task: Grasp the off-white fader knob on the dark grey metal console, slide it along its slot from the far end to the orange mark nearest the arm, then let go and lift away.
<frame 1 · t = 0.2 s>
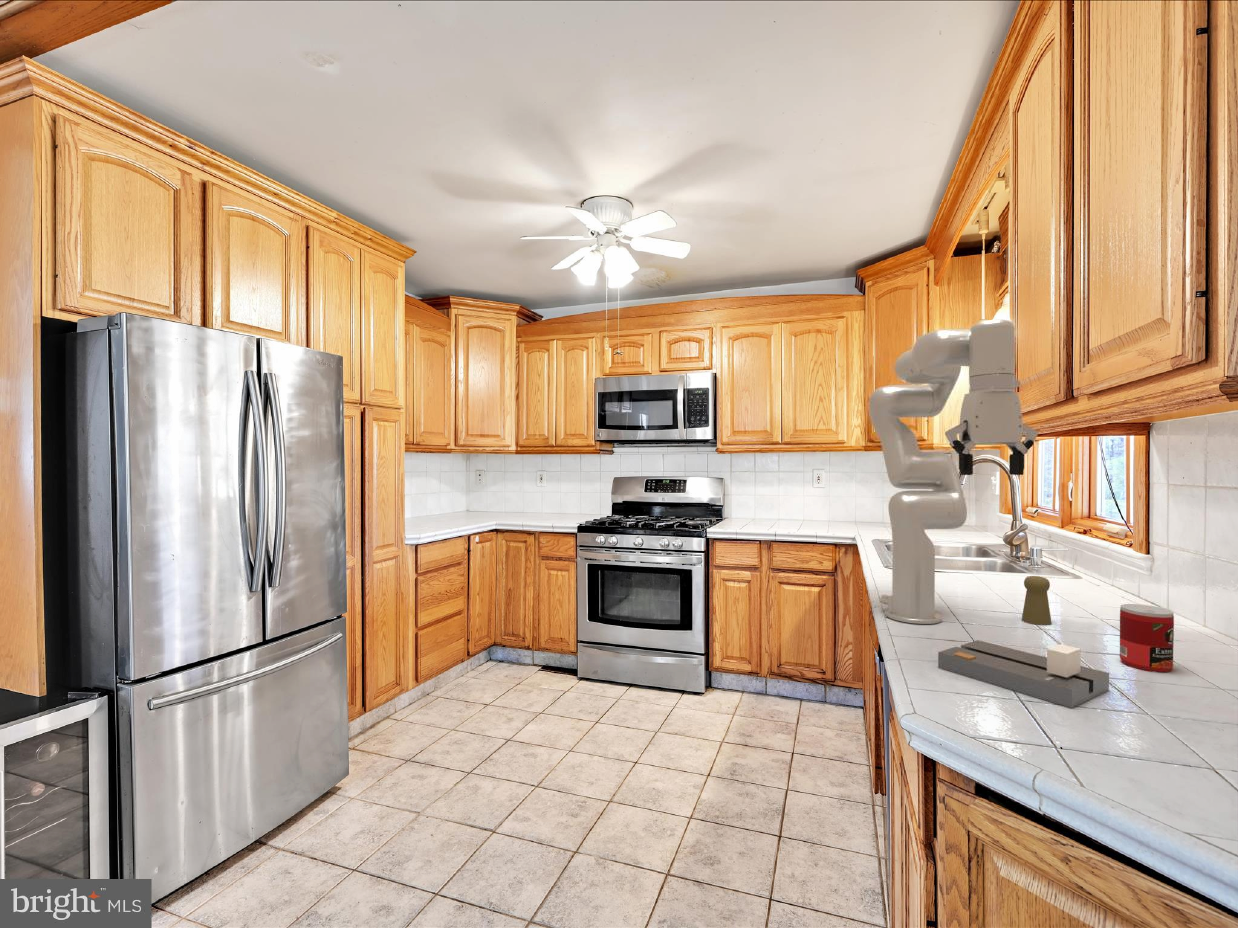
hand: (991, 474, 118), 37 cm above the table, tool pointing down, fingers open, 9 cm apart
fader console: (1019, 678, 111), on the table
cork: (1036, 622, 148), on the table
fader knob: (1063, 666, 105), point 4 cm above the table, slide at 7.0 cm
canned food: (1145, 666, 118), on the table
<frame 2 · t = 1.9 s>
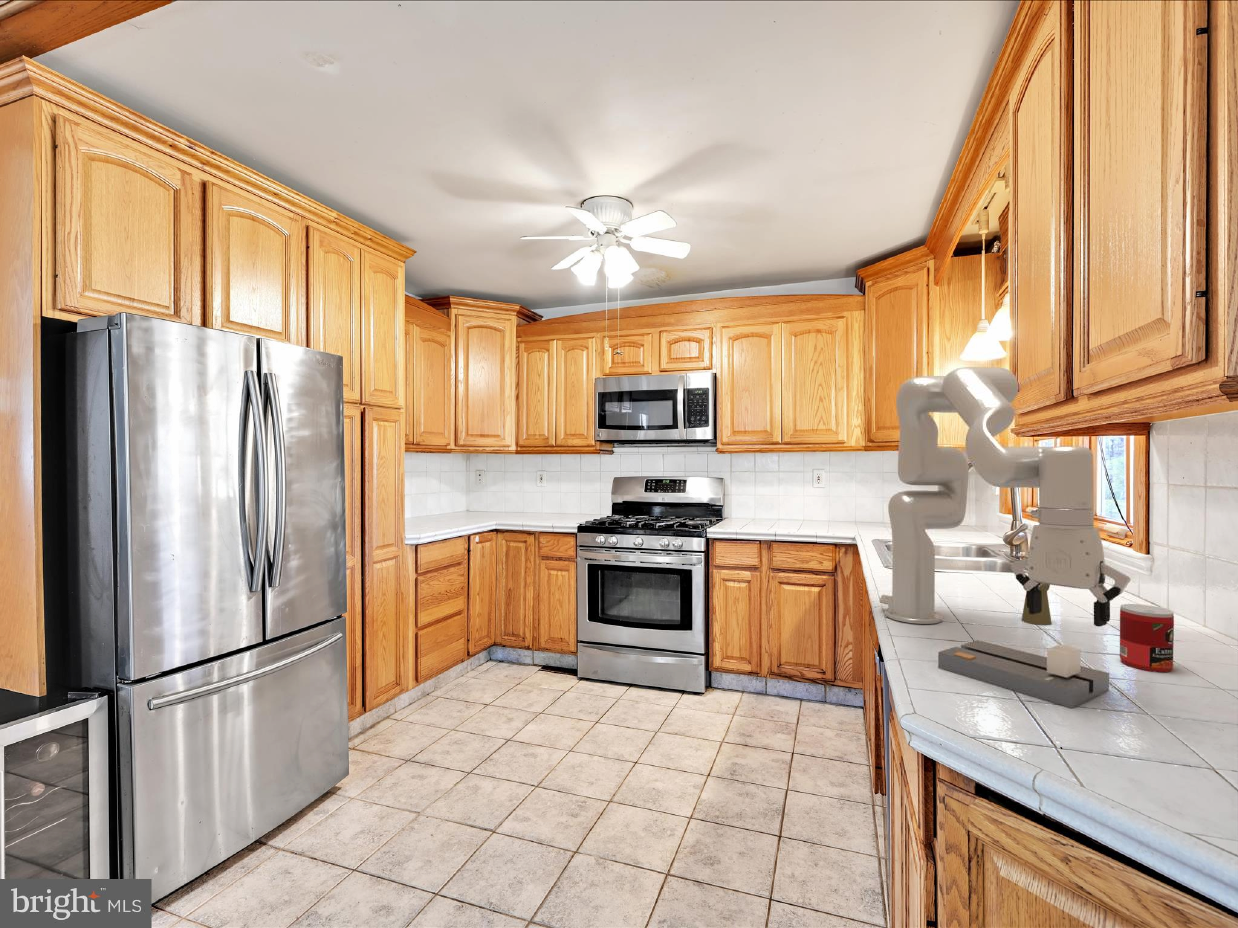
hand: (1066, 618, 104), 13 cm above the table, tool pointing down, fingers open, 9 cm apart
nothing on the table moved.
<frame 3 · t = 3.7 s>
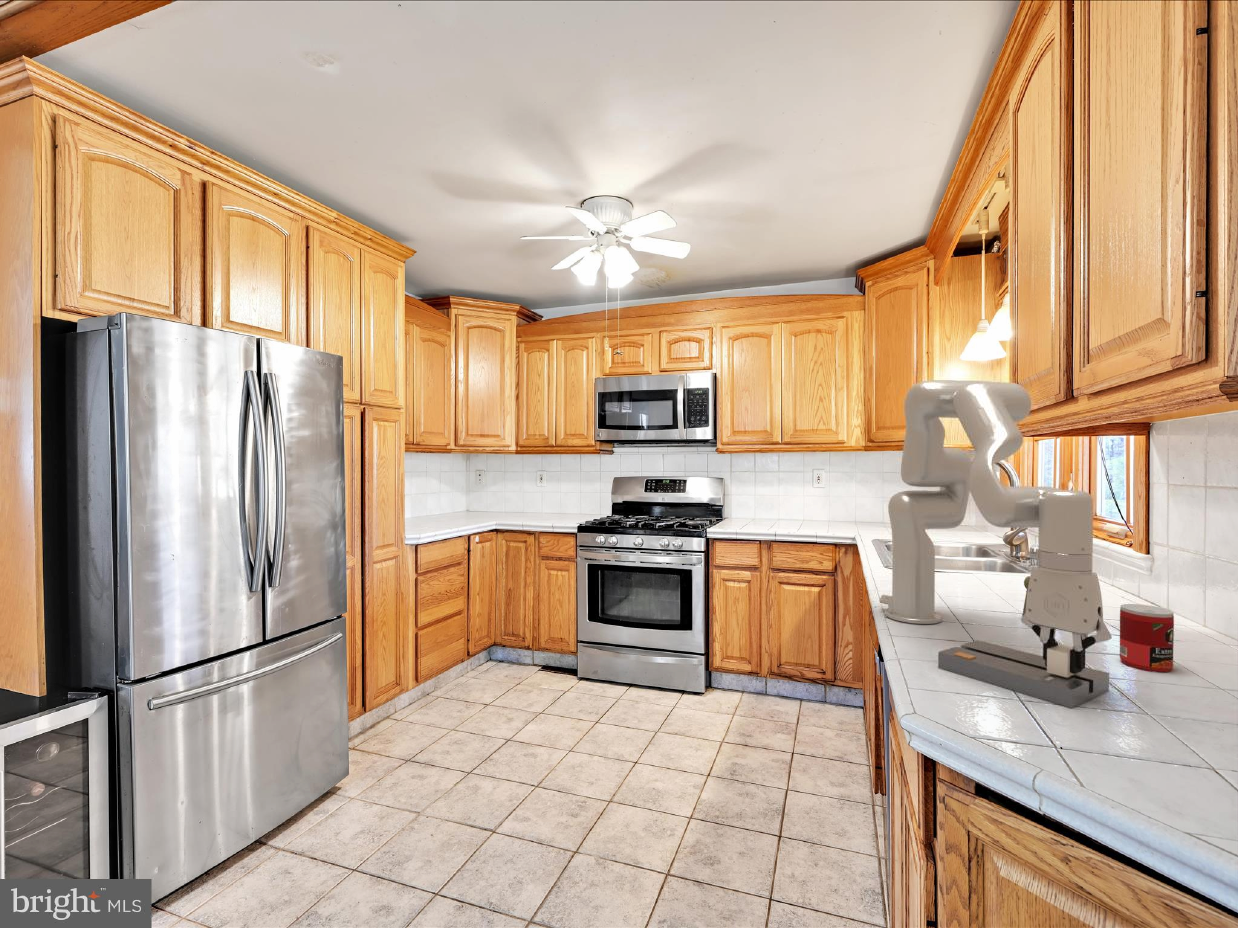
hand: (1063, 667, 105), 4 cm above the table, tool pointing down, fingers closed on fader knob, 3 cm apart
fader knob: (1063, 666, 105), point 4 cm above the table, slide at 7.0 cm, touching gripper
everything else where it was.
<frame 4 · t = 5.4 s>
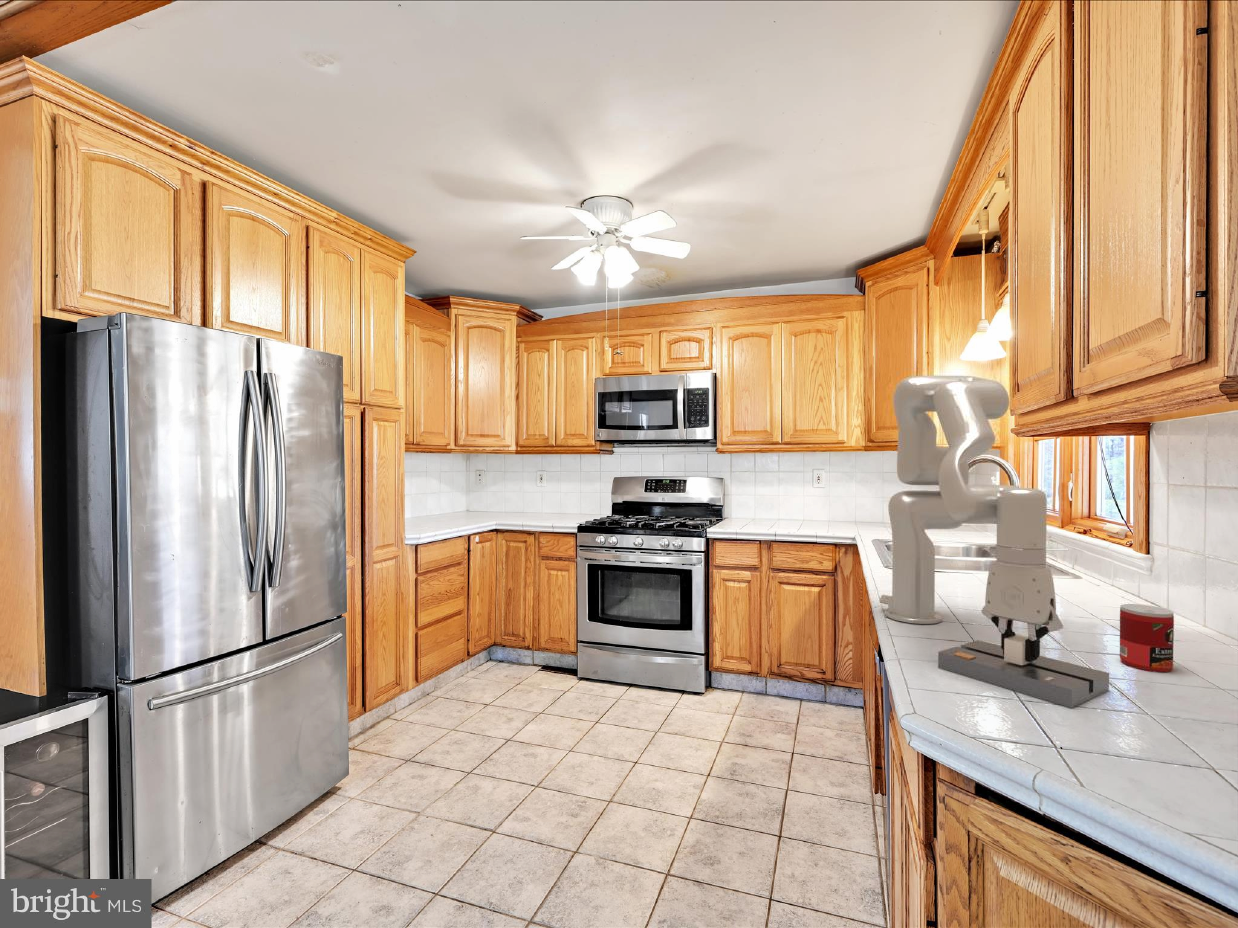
hand: (1020, 656, 111), 4 cm above the table, tool pointing down, fingers closed on fader knob, 3 cm apart
fader knob: (1020, 654, 111), point 4 cm above the table, slide at 0.1 cm, touching gripper
everything else where it was.
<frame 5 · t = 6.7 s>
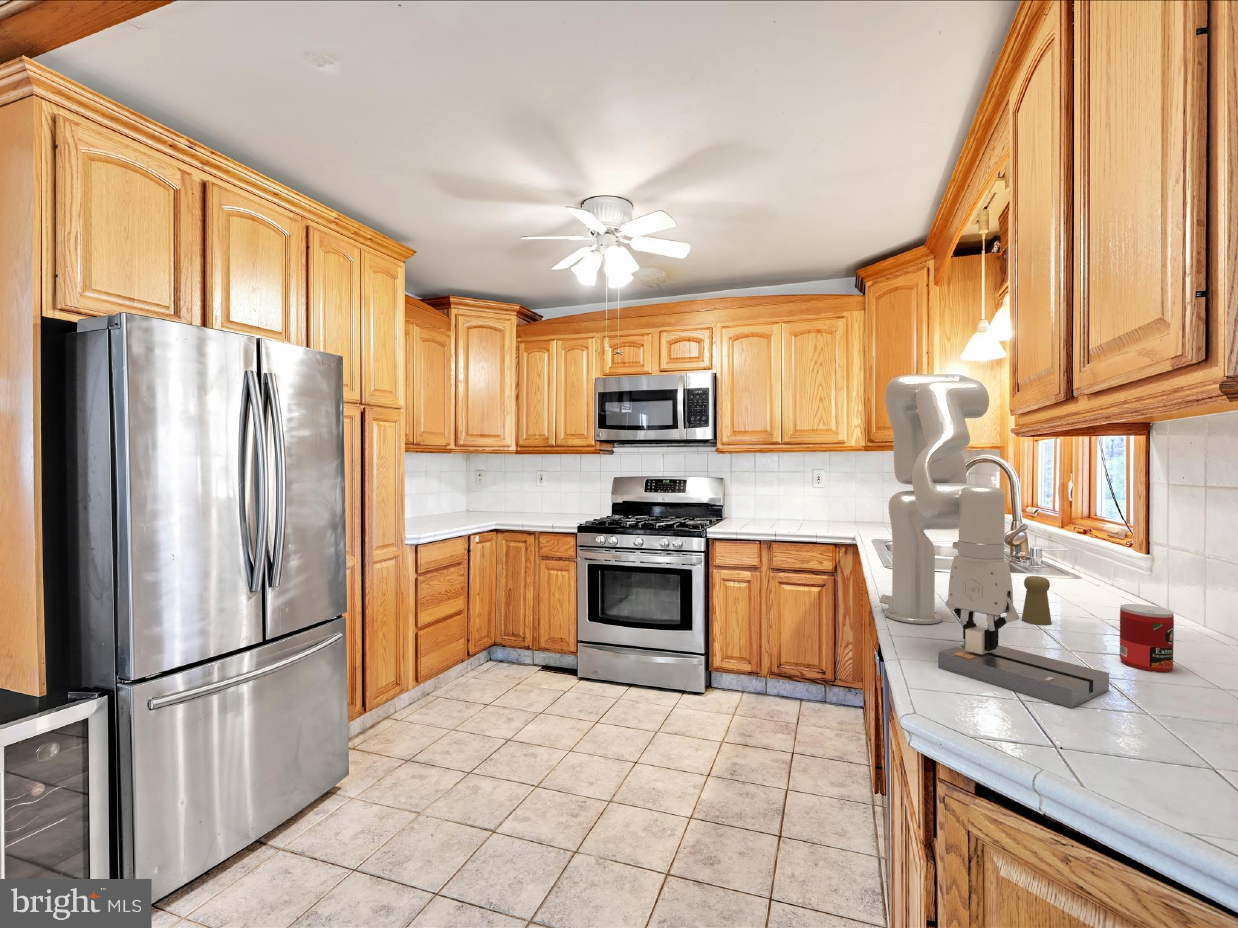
hand: (980, 646, 117), 4 cm above the table, tool pointing down, fingers closed on fader knob, 3 cm apart
fader knob: (980, 644, 117), point 4 cm above the table, slide at -6.9 cm, touching gripper
everything else where it was.
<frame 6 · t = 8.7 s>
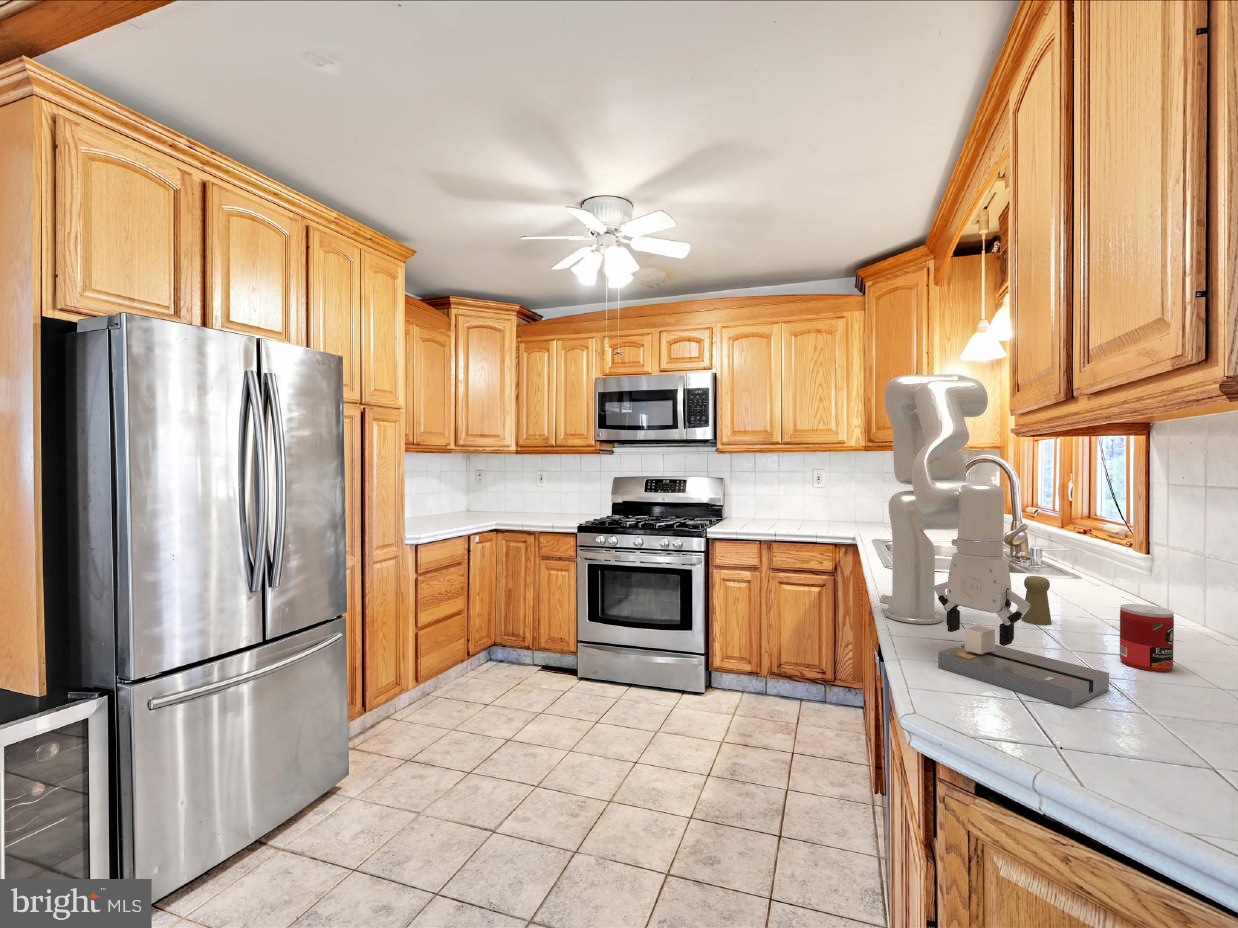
hand: (978, 637, 117), 6 cm above the table, tool pointing down, fingers open, 9 cm apart
fader knob: (979, 644, 117), point 4 cm above the table, slide at -7.0 cm
everything else where it was.
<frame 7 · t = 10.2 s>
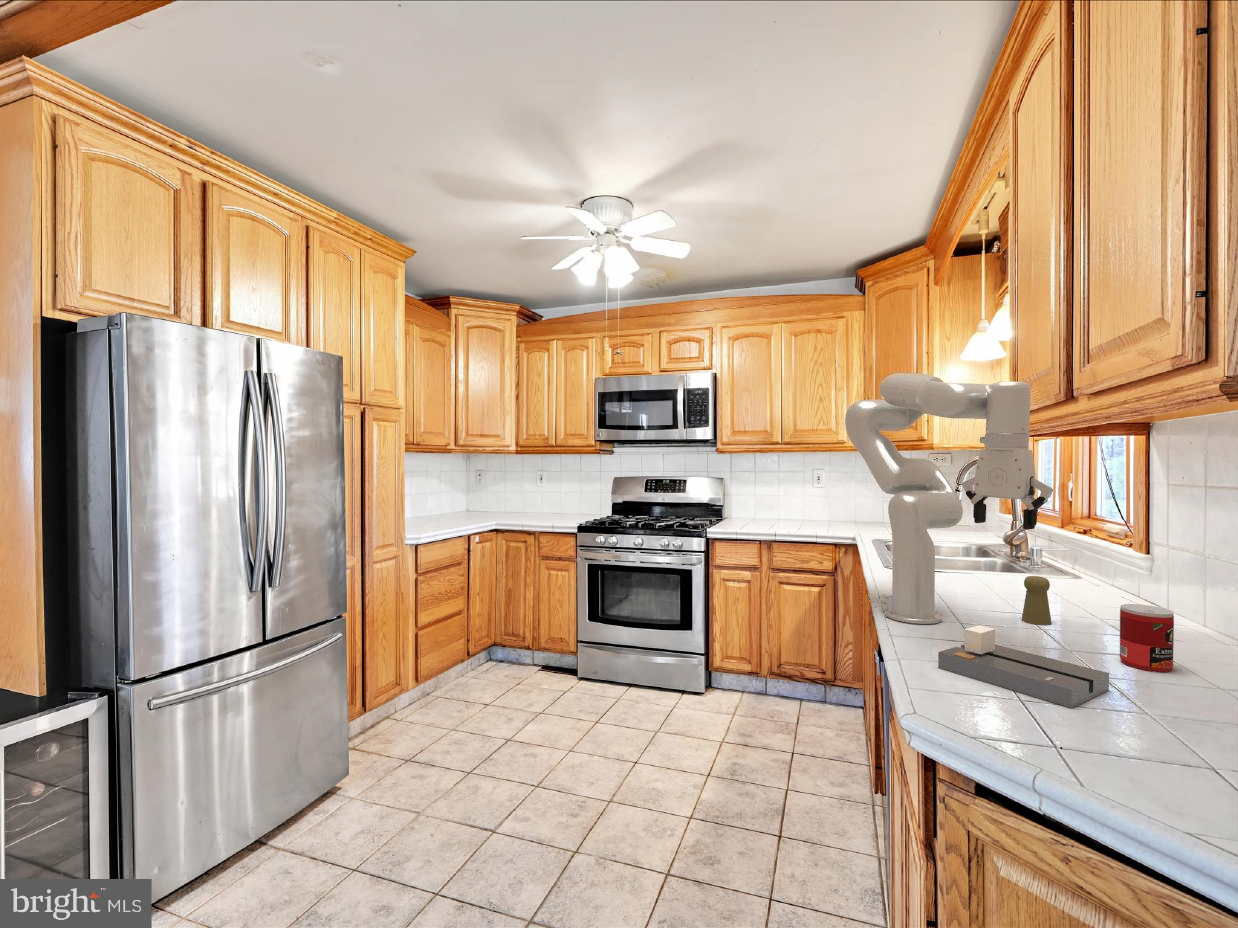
hand: (1003, 525, 126), 26 cm above the table, tool pointing down, fingers open, 9 cm apart
nothing on the table moved.
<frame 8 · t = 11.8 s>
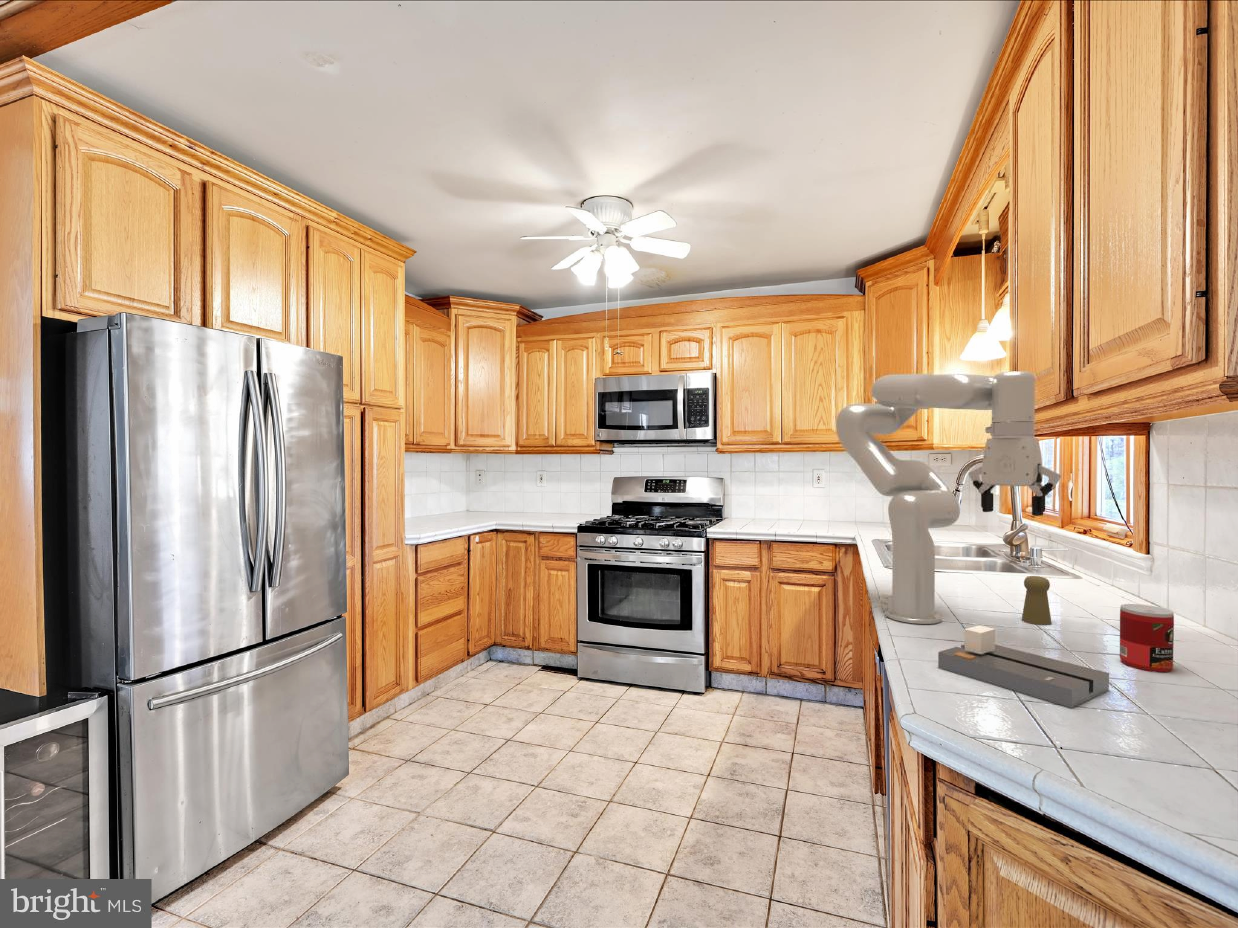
hand: (1011, 513, 127), 28 cm above the table, tool pointing down, fingers open, 9 cm apart
nothing on the table moved.
at the end: fader knob slide at -7.0 cm; the gripper is holding nothing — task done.
